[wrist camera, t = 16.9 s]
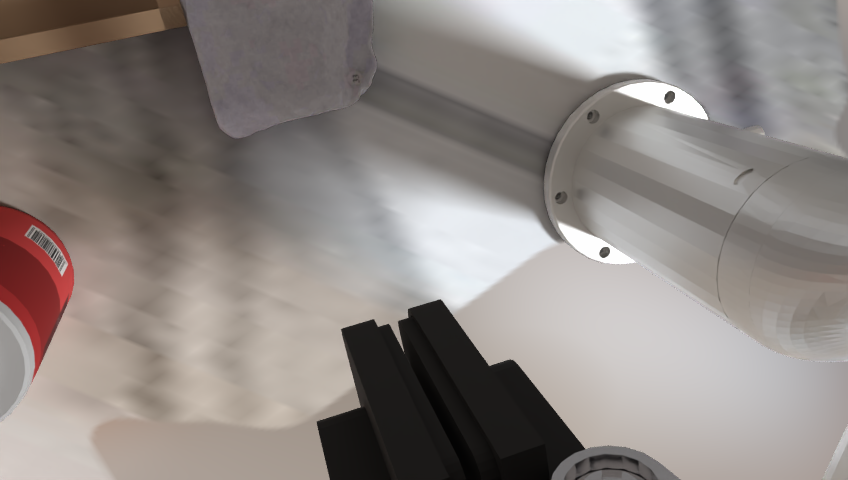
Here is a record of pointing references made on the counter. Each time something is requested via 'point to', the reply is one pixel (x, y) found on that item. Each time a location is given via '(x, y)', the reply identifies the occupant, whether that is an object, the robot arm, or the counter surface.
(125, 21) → the tray
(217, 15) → the stone block
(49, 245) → the canned food
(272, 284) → the counter surface
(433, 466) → the robot arm
